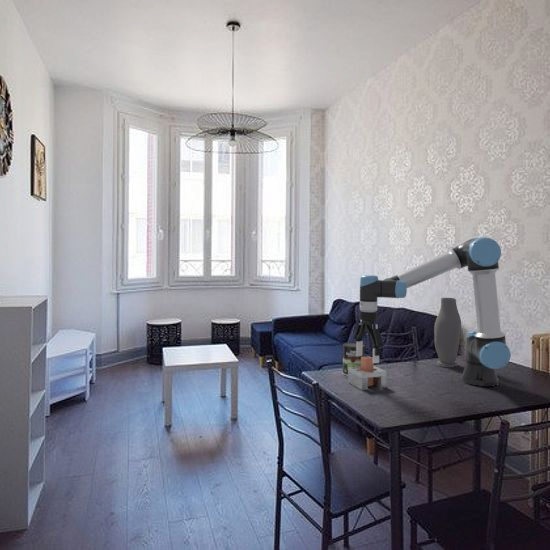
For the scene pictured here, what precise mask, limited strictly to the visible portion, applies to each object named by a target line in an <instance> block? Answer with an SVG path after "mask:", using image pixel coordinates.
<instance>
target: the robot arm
mask: <svg viewBox="0 0 550 550" xmlns="http://www.w3.org/2000/svg"><path fill="white" fill-rule="evenodd" d="M501 256H502V249H501V246H500V245H499V243H498V242H497V241H496V240H495V239H493V238H490V237H485V236H483V237H482V236H481V237H476V238H470V239H468V240H466V241H465V242H463V243H461V244H459V245H456V246H455V247H453V248H451V249H449V252H447V253H444V254H442V255H441V256H438V257H434V258H433V259H431V260H428V261H425V262H424V263H421V264H418V265H417V266H413V267H411V268H410V269H407V270H405V271H403V272H400V273H398V274H396V275H394V276H391V277H388V278H384V279H383V280H382V279H379V276H377V275H375V274H373V275H369V274H368V275H361V276H360V280H359V310H360V311H359V315H358V317H359V318H358V320H357V321H356V327H355V331H354V334H353V339H354V340H355V343H356V356H362V348H363V345H364V342H363V341H364V340H363V339H364V337H365V335H366V333H367V334H368V335H369V337H370V341H371V343H372V344H373V347H372V358H373V363H374V364H379V363H380V354H381V353H380V351H381V350H380V349H381V348H383V347H384V343H383V338H382V335H381V331H380V324H379V323H375V321H378V320H377V319H378V312H377V311H378V298H384V299H385V298H389V299H404V298H406V296H407V292H408V290H407V289H409V288H411V287H413V286H416V285H419V284H421V283H423V282H426V281H427V280H430V279H432V278H436V277H437V276H441V275H443V274H445V273H447V272H450V271H452V270H454V269H458V270H459V269H463V268H465V267H467V271H468V273H470V274H471V275H472V282H473V292H474V303H475V304H474V305H475V306H474V307H475V314H476V315H475V316H476V325H477V330H472V331H471V330H470V331H468V332H467V333H466V354H465V355H466V359H465V360H466V361H465V366H464V368H463V372H462V373H461V379H462V380H461V382H463V381H464V382H463V383H465V382H466V383H465V384H467V383H469V384H468V385H470V384H473V385H472V386H475V385H479V386H478V387H482V386H493V385H497V384H498V385H499V377H498V375H497V370H498V369H501V368H504V367H505V366H506V365H507V364H508V363H509V362H510V360H511V356H512V354H511V353H512V352H511V349H510V348H509V346H508V345H507V340H506V334H505V333H504V332H503V331H502V330H501V322H500V321H501V319H500V309H499V301H498V290H497V278H496V273H497V272H498V271H499V270H500V269H499V268H500V265H499V260H500V259H501ZM498 385H497V386H498ZM493 387H494V386H493Z"/></svg>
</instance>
